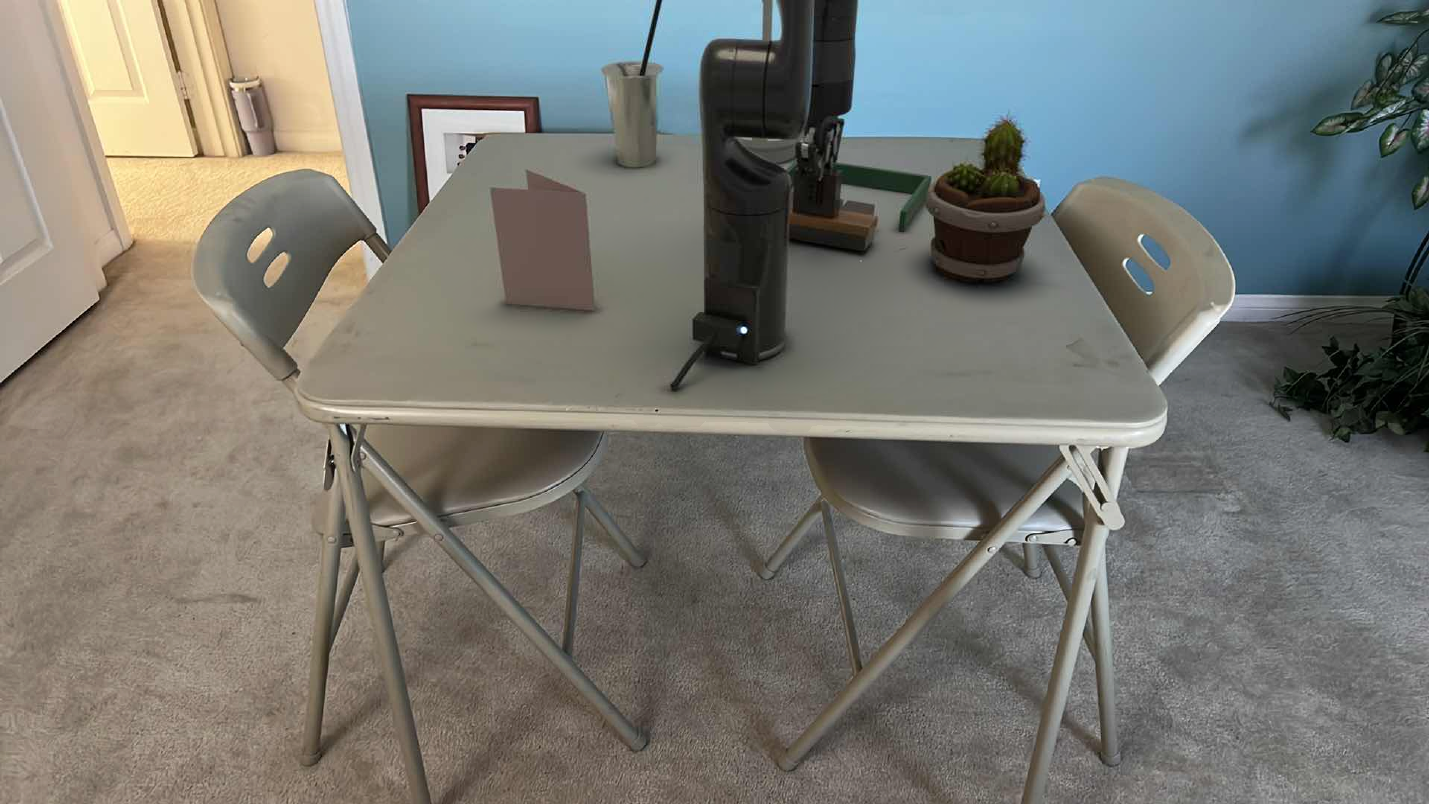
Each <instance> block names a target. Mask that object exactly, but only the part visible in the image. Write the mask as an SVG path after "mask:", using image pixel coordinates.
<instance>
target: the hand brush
mask: <svg viewBox="0 0 1429 804" xmlns="http://www.w3.org/2000/svg"><path fill="white" fill-rule="evenodd" d="M810 170H811V171H812V169H810ZM823 176H824V177H823V184H822V198H821V205H820V206H819V207H811V206H806V205H805V203H804V198H805V181H806V179H800V178H799V173H798V167H797V168H796V169H795V170H794V185H793V187H792V188H793V190H792V192H793V202H791V210H790V228H789V240H790V239H791V240H796V241H802V242H808V243H813V244H819V245H820V244H821V245H825V246H831V247H837V248H842V249H847V250H853V251H857V252H866V250H867V249H868V248H869V246H870V245H871V243H872V242H873V240H874V239H875V234H876V233H875V231H876V228H877V227H878V220H879V216H878V215H874V216H873V215H867V214H861V213H855V212H849V211H843V210H839V206H840V199H841V193H842V183H841V181H842V170H836V169H829V168H824V174H823Z"/></svg>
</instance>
